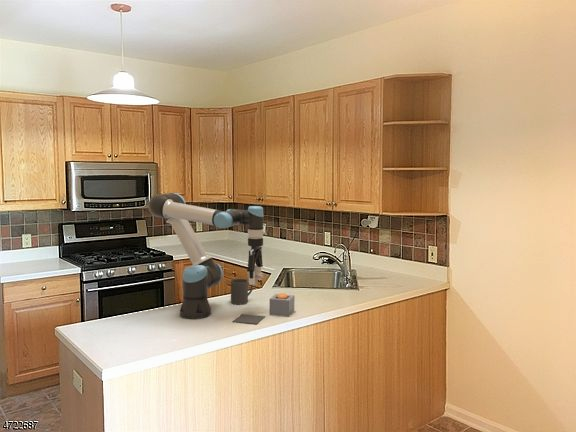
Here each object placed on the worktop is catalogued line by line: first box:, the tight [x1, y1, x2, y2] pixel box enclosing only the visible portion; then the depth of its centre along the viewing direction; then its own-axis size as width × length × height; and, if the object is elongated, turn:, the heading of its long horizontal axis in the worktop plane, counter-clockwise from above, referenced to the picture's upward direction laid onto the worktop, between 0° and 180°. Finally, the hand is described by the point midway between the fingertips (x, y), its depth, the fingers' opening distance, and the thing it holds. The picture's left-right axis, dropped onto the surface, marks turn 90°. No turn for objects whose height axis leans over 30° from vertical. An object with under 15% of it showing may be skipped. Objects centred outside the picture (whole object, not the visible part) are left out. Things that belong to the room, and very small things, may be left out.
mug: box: [230, 278, 254, 306], centre depth 264 cm, size 14×9×12 cm
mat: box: [232, 313, 266, 326], centre depth 234 cm, size 12×12×1 cm
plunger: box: [276, 293, 288, 299], centre depth 244 cm, size 5×5×2 cm
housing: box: [269, 293, 296, 317], centre depth 245 cm, size 10×10×8 cm
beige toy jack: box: [246, 264, 265, 287], centre depth 244 cm, size 10×10×10 cm
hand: (255, 282), depth 244 cm, fingers closed on beige toy jack, 10 cm apart
